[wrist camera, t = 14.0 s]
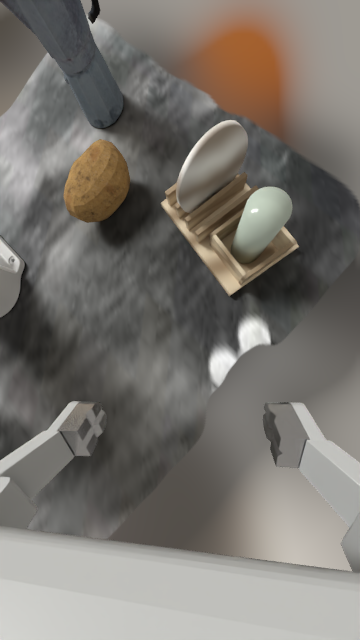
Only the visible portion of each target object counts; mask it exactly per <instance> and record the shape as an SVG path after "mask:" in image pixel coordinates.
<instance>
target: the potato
mask: <svg viewBox="0 0 360 640" xmlns="http://www.w3.org/2000/svg"><path fill="white" fill-rule="evenodd" d="M129 185H130V177H129V171H128V167H127V163H126V161H125V159H124V157H123V156H122V154H121V153H120V152H119V150H118V149H117V148H116V147H115V146H114V145H113V144H112V143H111V142H108V141H105V140H101V139H100V140H98V141H96V142H94V143H93V144H92V145H91V146H90V147H89V148H88V149H87V150H86V151H85V152H84V153H83V154H82V155H81V156H80V157H79V158H78V159H77V160H76V161H75V162H74V163H73V165H72V167H71V170H70V173H69V176H68V179H67V182H66V184H65V190H64V199H65V203H66V207H67V210H68V211H69V213H70V215H72V216H74V217H76V218H78V219H80V220H82V221H85V222H87V223H88V222H99V221H103V220H105V219H107V218H108V217H110V216H111V215H112V214H113V213H114V212H115V211H116V210H117V209H118V207H119V206H120V205H121V203H122V202H123V201H124V199H125V198H126V195H127V193H128V190H129Z"/></svg>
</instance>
